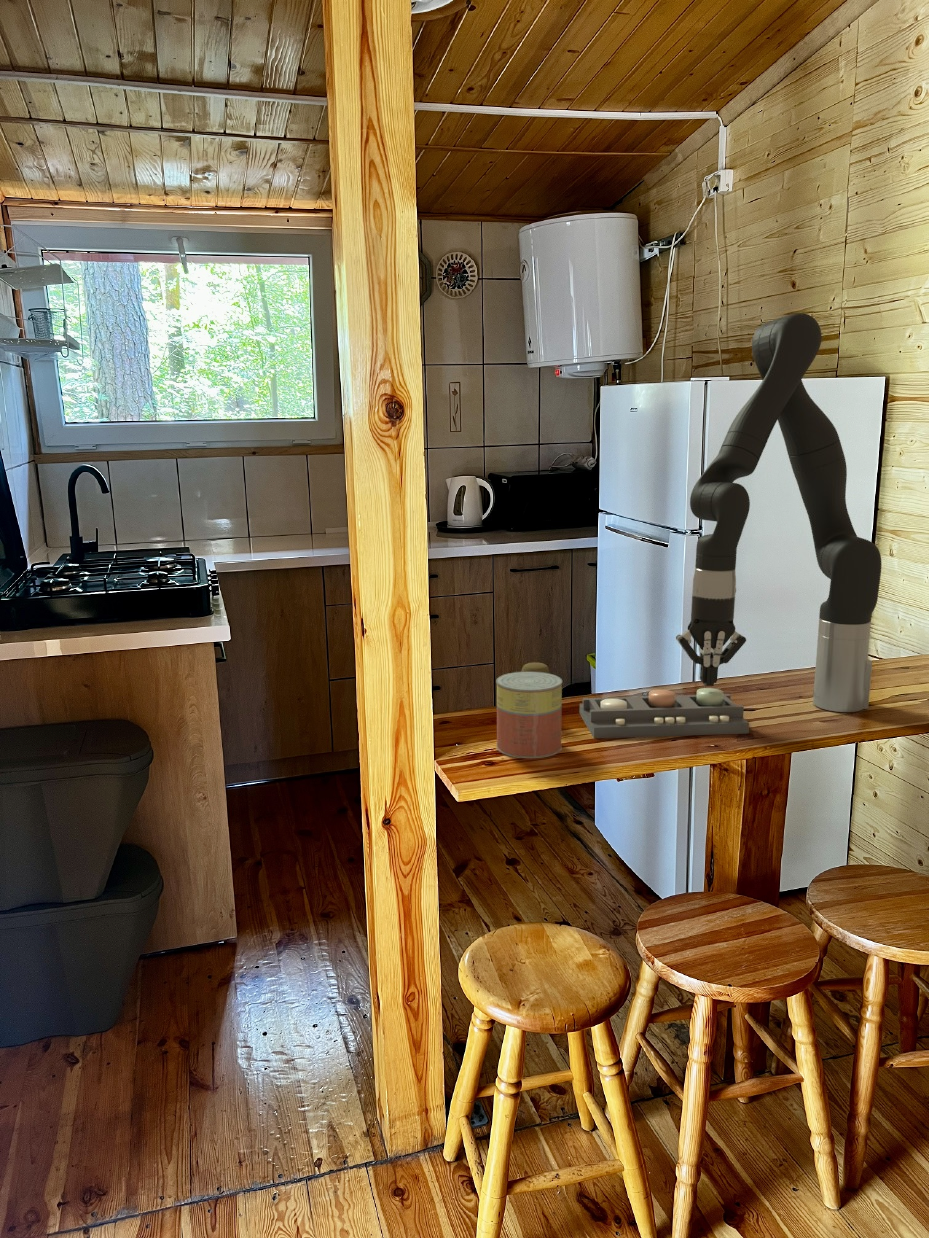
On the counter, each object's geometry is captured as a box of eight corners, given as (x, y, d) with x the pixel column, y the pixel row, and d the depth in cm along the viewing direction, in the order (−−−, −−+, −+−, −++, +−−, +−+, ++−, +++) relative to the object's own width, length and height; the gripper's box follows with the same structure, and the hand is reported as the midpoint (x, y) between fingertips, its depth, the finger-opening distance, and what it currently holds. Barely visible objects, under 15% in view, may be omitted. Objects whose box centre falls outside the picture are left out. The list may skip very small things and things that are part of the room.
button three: (670, 699, 173) (671, 689, 173) (678, 707, 169) (678, 696, 168) (645, 700, 173) (646, 689, 173) (652, 707, 168) (652, 697, 168)
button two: (718, 697, 174) (718, 687, 174) (726, 705, 169) (727, 695, 169) (692, 698, 174) (693, 688, 173) (700, 706, 169) (701, 695, 169)
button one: (623, 708, 173) (623, 698, 173) (629, 716, 169) (629, 706, 168) (597, 709, 173) (598, 699, 172) (603, 717, 168) (603, 706, 168)
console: (722, 709, 179) (723, 689, 179) (748, 733, 166) (749, 712, 165) (579, 713, 178) (579, 693, 177) (593, 738, 164) (594, 716, 163)
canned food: (530, 731, 168) (531, 667, 166) (575, 748, 160) (576, 681, 157) (483, 745, 161) (482, 679, 159) (526, 763, 153) (526, 694, 150)
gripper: (742, 589, 171) (736, 679, 175) (672, 589, 171) (667, 679, 174) (757, 596, 164) (750, 690, 168) (683, 597, 163) (678, 691, 167)
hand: (708, 684), depth 171 cm, fingers closed
